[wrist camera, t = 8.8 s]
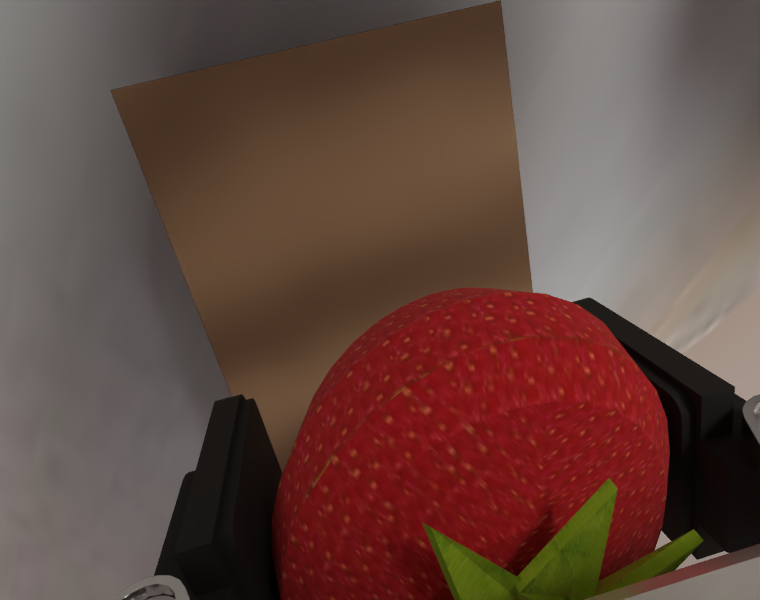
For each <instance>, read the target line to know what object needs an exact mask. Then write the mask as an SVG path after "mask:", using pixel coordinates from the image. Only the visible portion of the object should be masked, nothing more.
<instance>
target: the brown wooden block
mask: <svg viewBox="0 0 760 600" xmlns="http://www.w3.org/2000/svg"><path fill="white" fill-rule="evenodd" d="M111 93H112V95H113V98H114V100H115V103H116V105H117V108H118V110H119V113H120V116H121V118H122V121H123V123H124V126H125V128H126V131H127V133H128V136H129V138H130V141H131V143H132V146H133V148H134V151H135V153H136V156H137V158H138V161H139V163H140V166H141V169H142V171H143V174H144V176H145V179H146V181H147V184H148V186H149V189H150V191H151V194H152V196H153V199H154V201H155V204H156V206H157V209H158V211H159V214H160V217H161V219H162V222H163V224H164V227H165V229H166V232H167V234H168V237H169V239H170V242H171V244H172V247H173V249H174V252H175V254H176V257H177V259H178V262H179V264H180V267H181V270H182V272H183V275H184V277H185V280H186V282H187V285H188V287H189V290H190V292H191V295H192V297H193V300H194V302H195V305H196V307H197V310H198V312H199V315H200V317H201V320H202V323H203V325H204V328H205V330H206V333H207V335H208V338H209V340H210V343H211V345H212V348H213V350H214V353H215V355H216V358H217V360H218V363H219V365H220V368H221V370H222V373H223V376H224V378H225V381H226V383H227V386H228V388H229V391H230V393H231V396H232V397H233V396H236V395H240V394H242V395H243V396H244V397H245V399H246V400H247V399H251V398H253V399H254V400H255V402H256V404H257V406H258V409H259V412H260V414H261V417H262V420H263V423H264V425H265V428H266V431H267V433H268V436H269V439H270V441H271V444H272V447H273V449H274V452H275V455H276V457H277V460H278V463H279V465H280V468H281V471H282V473H283V470H284V468H285V465H286V463H287V460H288V458H289V455H290V453H291V450H292V448H293V445H294V443H295V440H296V437H297V435H298V432H299V430H300V427H301V425H302V422H303V420H304V417H305V415H306V413H307V410H308V408H309V405H310V403H311V401H312V398H313V396H314V394H315V393H316V391H317V389H318V388H319V386H320V384H321V383H322V381H323V380H324V378H325V376H326V375H327V373H328V371H329V370H330V368H331V367H332V366H333V365H334V364H335V362H336V361H337V360H338V359H339V358H340V357H341V355H342V354H343V353H344V352H345V351H346V350H347V348H348V347H349V346H350V345H351V344H352V343H353V342H354V341H355V340H356V339H357V338H359V337H360V336H361V335H362V334H363V333H364V332H366V331H367V330H368V329H369V328H370V327H371V326H373V325H374V324H375V323H376V322H377V321H379V320H380V319H382V318H384V317H385V316H387V315H389V314H390V313H392V312H394V311H395V310H397V309H398V308H400V307H402V306H403V305H405V304H407V303H410V302H412V301H415V300H417V299H420V298H422V297H425V296H427V295H430V294H433V293H435V292H440V291H446V290H451V289H457V288H462V287H474V288H494V289H503V290H513V291H522V292H531V293H533V290H532V281H531V272H530V263H529V254H528V244H527V235H526V226H525V217H524V208H523V199H522V190H521V180H520V171H519V162H518V153H517V144H516V135H515V126H514V117H513V107H512V98H511V89H510V80H509V71H508V62H507V53H506V44H505V34H504V25H503V16H502V7H501V0H500V1H496V2H492V3H487V4H483V5H479V6H474V7H470V8H466V9H461V10H457V11H453V12H448V13H444V14H439V15H435V16H431V17H426V18H422V19H418V20H413V21H409V22H405V23H400V24H396V25H392V26H387V27H383V28H379V29H374V30H370V31H366V32H361V33H357V34H353V35H348V36H344V37H340V38H335V39H331V40H327V41H322V42H318V43H314V44H309V45H305V46H301V47H296V48H292V49H287V50H283V51H279V52H274V53H270V54H266V55H261V56H257V57H253V58H248V59H244V60H240V61H235V62H231V63H227V64H222V65H218V66H214V67H209V68H205V69H201V70H196V71H192V72H188V73H183V74H179V75H175V76H170V77H166V78H162V79H157V80H153V81H149V82H144V83H140V84H135V85H131V86H127V87H122V88H118V89H114V90H111Z"/></svg>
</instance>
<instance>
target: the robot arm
mask: <svg viewBox="0 0 760 600" xmlns="http://www.w3.org/2000/svg"><path fill="white" fill-rule="evenodd" d="M572 303H575V304H578V305H579V306H581V307H582V308H584V309H585V310H587V311H588V312H590V313H591V314H592V315H594V316H595V317H597V318H598V319H600V320H601V321H603V322H604V323H605V325H606V326H607V327H608V328H609V330H610V331H611V332H612V334H613V335H614V336H615V337H616V339H617V340H618V341H619V342H620V344H621V345H622V346H623V348H624V349H625V350H626V351H627V353H628V354H629V355H630V357H631V358H632V359H633V360H634V362H635V363H636V364H637V366H638V367H639V368H640V369H641V371H642V372H643V373H644V375H645V376H646V377H647V379H648V380H649V381H650V382H651V384H652V385H653V386H654V388H655V389H656V390H657V393H658V396H659V398H660V401H661V404H662V407H663V409H664V412H665V415H666V418H667V423H668V435H669V447H670V456H669V469H668V482H667V496H666V504H665V511H664V518H663V526H662V529H661V530H662V531H663V532H664V534H666V536H667V537H668V538H669V539H670V540H671V541H673V540H675V539H677V538H678V537H680V536H682V535H684V534H686V533H687V532H689V531H691V530H693V529H694V530H695V531H696V532H697V533H698V534H699V536H700V537H701V538H702V539H703V540H704V541H703V542H702V543H701V544H700V545H699V546H698V547H697V548H696V549H695V550H694V551H693V552H692V555H693V556H694V557H695V558H696V559H701V558H704V557H707V556H710V555H713V554H716V553H719V552H723V551H726V552H728V553H729V554H726V555H723V556H720V557H717V558H713V559H710V560H707V561H704V562H700V563H697V564H694V565H691V566H688V567H685V568H681V569H678V570H675V571H672V572H669V573H666V574H662V575H659V576H656V577H653V578H650V579H647V580H644V581H641V582H637V583H634V584H631V585H628V586H625V587H622V588H619V589H616V590H613V591H609V592H606V593H603V594H600V595H597V596H594V597H591V598H588V599H585V600H760V395H756V396H754V397H752V398H750V399H749V400H748V401H745V400H744V399H742V398H741V397H739V396H737V395H736V394H734V392H735V387H734V386H732V385H731V384H729V383H728V382H726V381H724V380H723V379H721V378H720V377H718V376H716V375H715V374H713V373H711V372H710V371H708V370H707V369H705V368H703V367H702V366H700V365H699V364H697V363H695V362H694V361H692V360H690V359H689V358H687V357H686V356H684V355H682V354H681V353H679V352H678V351H676V350H674V349H673V348H671V347H669V346H668V345H666V344H665V343H663V342H661V341H660V340H658V339H657V338H655V337H653V336H652V335H650V334H648V333H647V332H645V331H644V330H642V329H640V328H639V327H637V326H636V325H634V324H632V323H631V322H629V321H627V320H626V319H624V318H623V317H621V316H619V315H618V314H616V313H614V312H613V311H611V310H610V309H608V308H606V307H605V306H603V305H602V304H600V303H598V302H597V301H595V300H593V299H592V298H586V299H582V300H578V301H575V302H572ZM281 476H282V471H281V468H280V465H279V463H278V460H277V457H276V455H275V452H274V449H273V447H272V444H271V441H270V439H269V436H268V433H267V431H266V428H265V425H264V423H263V420H262V417H261V414H260V412H259V409H258V406H257V404H256V402H255V400H254V399H253V398H251V399H247V400H246V399H245V397H244V396H243V395H242V394H240V395H236V396H233V397H229V398H226V399H222V400H218V401H215V403H214V406H213V409H212V413H211V417H210V420H209V424H208V428H207V431H206V435H205V439H204V442H203V446H202V450H201V453H200V457H199V461H198V464H197V468H196V471H192V472H189V473H187V474H186V475H185V477H184V479H183V482H182V485H181V488H180V492H179V495H178V498H177V502H176V505H175V508H174V512H173V515H172V518H171V521H170V525H169V528H168V531H167V535H166V538H165V541H164V545H163V548H162V551H161V555H160V558H159V561H158V565H157V568H156V571H155V574H154V576H153V577H150V578H146V579H143V580H141V581H139V582H137V583H135V584H133V585H131V586H129V587H128V588H126V589H125V590H124V591H122V592H121V593H120V594H118V595H117V596H116V597H114V598H113V599H112V600H281V599H280V594H279V588H278V583H277V578H276V573H275V567H274V562H273V557H272V513H273V509H274V504H275V499H276V495H277V490H278V485H279V481H280V478H281Z"/></svg>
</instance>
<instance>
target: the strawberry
mask: <svg viewBox="0 0 760 600" xmlns="http://www.w3.org/2000/svg"><path fill="white" fill-rule="evenodd" d="M669 456H670V447H669V435H668V423H667V418H666V415H665V412H664V409H663V407H662V404H661V401H660V398H659V396H658V393H657V390H656V389H655V388H654V386H653V385H652V384H651V382H650V381H649V380H648V379H647V377H646V376H645V375H644V373H643V372H642V371H641V369H640V368H639V367H638V366H637V364H636V363H635V362H634V360H633V359H632V358H631V357H630V355H629V354H628V353H627V351H626V350H625V349H624V348H623V346H622V345H621V344H620V342H619V341H618V340H617V339H616V337H615V336H614V335H613V334H612V332H611V331H610V330H609V328H608V327H607V326H606V325H605V323H604V322H603V321H601V320H600V319H598V318H597V317H595V316H594V315H592V314H591V313H590V312H588V311H587V310H585V309H584V308H582V307H581V306H579V305H578V304H575V303H572V302H569V301H566V300H563V299H559V298H556V297H553V296H550V295H547V294H541V293H531V292H522V291H513V290H503V289H494V288H474V287H462V288H457V289H451V290H446V291H440V292H435V293H433V294H430V295H427V296H425V297H422V298H420V299H417V300H415V301H412V302H410V303H407V304H405V305H403V306H402V307H400V308H398V309H397V310H395V311H394V312H392V313H390V314H389V315H387V316H385V317H384V318H382V319H380V320H379V321H377V322H376V323H375V324H374V325H373V326H371V327H370V328H369V329H368V330H367V331H366V332H364V333H363V334H362V335H361V336H360V337H359V338H357V339H356V340H355V341H354V342H353V343H352V344H351V345H350V346H349V347H348V348H347V350H346V351H345V352H344V353H343V354H342V355H341V357H340V358H339V359H338V360H337V361H336V362H335V364H334V365H333V366H332V367H331V368H330V370H329V371H328V373H327V375H326V376H325V378H324V380H323V381H322V383H321V384H320V386H319V388H318V389H317V391H316V393H315V394H314V396H313V398H312V401H311V403H310V405H309V408H308V410H307V413H306V415H305V417H304V420H303V422H302V425H301V427H300V430H299V432H298V435H297V437H296V440H295V443H294V445H293V448H292V450H291V453H290V455H289V458H288V460H287V463H286V465H285V468H284V470H283V473H282V476H281V478H280V481H279V485H278V490H277V495H276V499H275V504H274V509H273V513H272V557H273V562H274V567H275V573H276V578H277V583H278V588H279V594H280V599H281V600H585V599H588V598H591V597H594V596H597V595H600V594H603V593H606V592H609V591H613V590H616V589H619V588H622V587H625V586H628V585H631V584H634V583H637V582H641V581H644V580H647V579H650V578H653V577H656V576H659V575H662V574H666V573H669V572H672V571H675V570H676V568H677V567H678V566H679V565H680V564H681V563H682V562H683V561H684V560H685V559H686V558H687V557H688V556H689V555H690V554H691V553H692V552H693V551H694V550H695V549H696V548H697V547H698V546H699V545H700V544H701V543H702V542H703V541H704V540H703V539H702V538H701V537H700V536H699V534H698V533H697V532H696V531H695V530H694V529H693V530H691V531H689V532H687V533H686V534H684V535H682V536H680V537H678V538H677V539H675V540H673V541H671V542H669V543H667V544H666V545H664V546H662V547H660V548H658V549H657V550H655V547H656V544H657V541H658V538H659V535H660V532H661V529H662V526H663V518H664V511H665V504H666V496H667V482H668V469H669ZM654 550H655V551H654Z"/></svg>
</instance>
